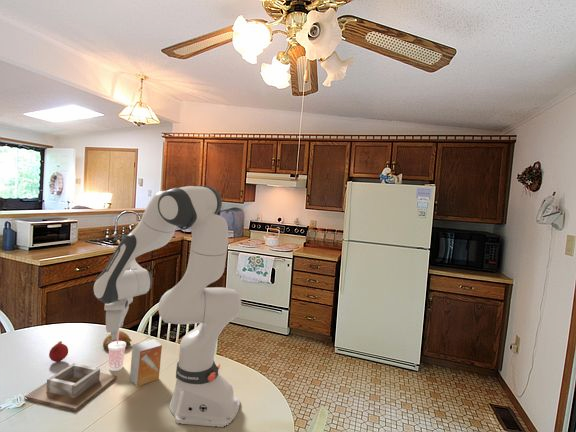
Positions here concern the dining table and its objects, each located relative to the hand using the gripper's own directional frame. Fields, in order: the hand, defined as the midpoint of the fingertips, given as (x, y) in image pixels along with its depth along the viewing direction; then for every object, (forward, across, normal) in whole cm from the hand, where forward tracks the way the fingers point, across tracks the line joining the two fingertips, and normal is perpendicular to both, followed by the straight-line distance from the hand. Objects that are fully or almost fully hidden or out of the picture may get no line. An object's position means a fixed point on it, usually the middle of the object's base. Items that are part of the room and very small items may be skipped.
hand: (117, 332), depth 121 cm
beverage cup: (+14, +1, 0) cm, 14 cm away
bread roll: (+14, -16, -2) cm, 22 cm away
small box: (+13, +10, +12) cm, 20 cm away
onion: (+14, -5, -20) cm, 25 cm away
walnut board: (+13, +12, -10) cm, 21 cm away
